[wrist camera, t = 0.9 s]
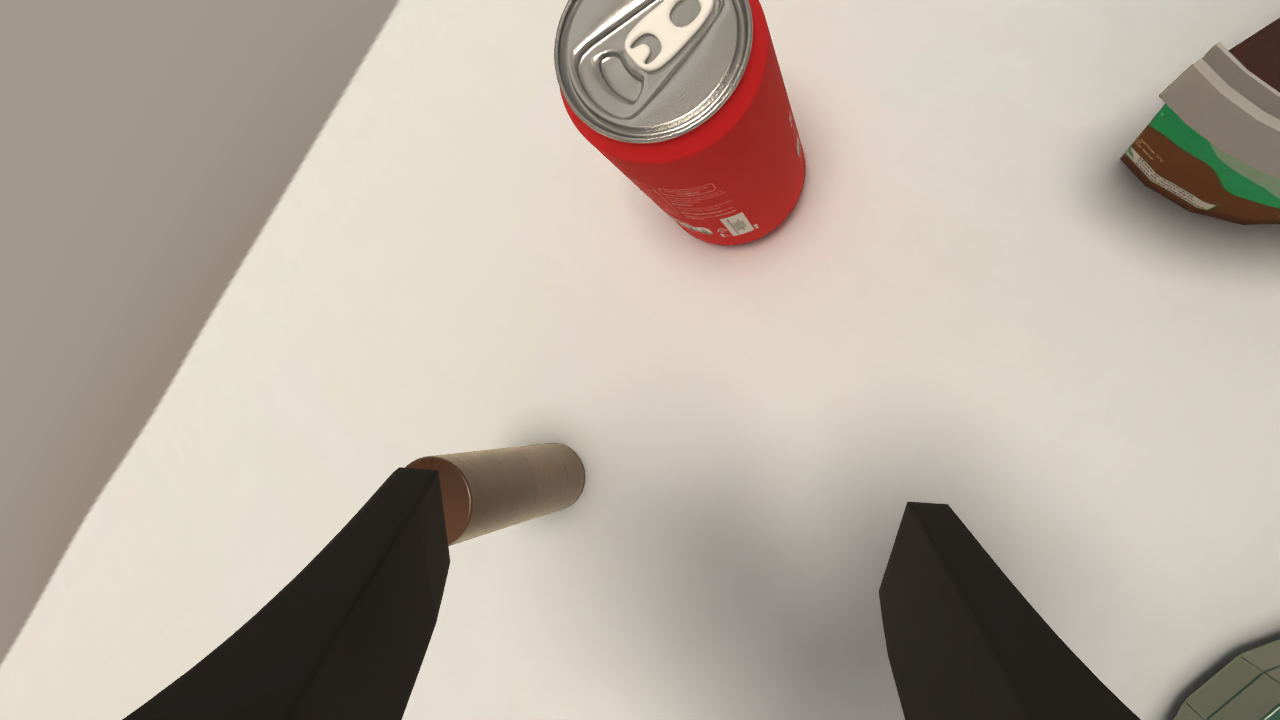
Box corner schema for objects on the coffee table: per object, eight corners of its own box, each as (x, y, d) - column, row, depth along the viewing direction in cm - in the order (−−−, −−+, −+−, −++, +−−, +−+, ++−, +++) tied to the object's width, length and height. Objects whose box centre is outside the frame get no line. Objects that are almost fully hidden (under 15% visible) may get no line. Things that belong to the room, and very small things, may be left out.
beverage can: (642, 179, 31) (503, 43, 19) (746, 84, 30) (665, -118, 18) (726, 279, 30) (632, 199, 18) (838, 184, 29) (812, 36, 17)
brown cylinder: (579, 516, 31) (464, 558, 22) (518, 503, 32) (383, 539, 23) (589, 448, 31) (478, 465, 22) (528, 437, 32) (397, 449, 23)
